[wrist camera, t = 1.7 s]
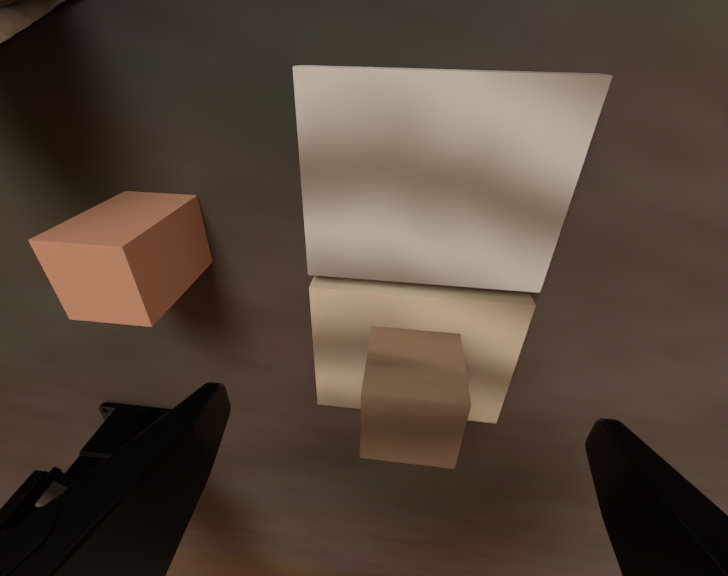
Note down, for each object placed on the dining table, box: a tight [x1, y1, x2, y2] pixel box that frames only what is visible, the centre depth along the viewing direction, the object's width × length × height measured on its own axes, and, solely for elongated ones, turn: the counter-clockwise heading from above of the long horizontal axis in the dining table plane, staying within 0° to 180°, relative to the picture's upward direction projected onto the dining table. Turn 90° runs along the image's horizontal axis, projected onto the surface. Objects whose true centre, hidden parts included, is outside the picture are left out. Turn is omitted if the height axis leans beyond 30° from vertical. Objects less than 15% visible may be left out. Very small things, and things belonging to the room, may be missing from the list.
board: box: [293, 65, 613, 423], centre depth 20 cm, size 20×12×1 cm, turn 179°
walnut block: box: [360, 326, 471, 469], centre depth 20 cm, size 5×5×5 cm
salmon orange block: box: [28, 191, 212, 327], centre depth 18 cm, size 4×4×6 cm
